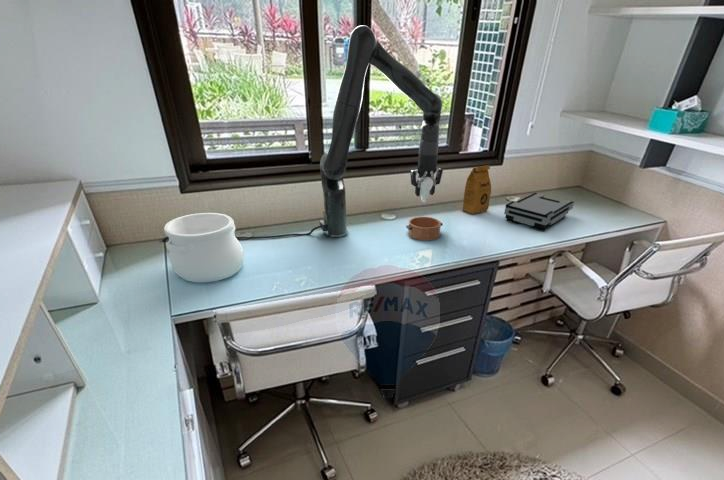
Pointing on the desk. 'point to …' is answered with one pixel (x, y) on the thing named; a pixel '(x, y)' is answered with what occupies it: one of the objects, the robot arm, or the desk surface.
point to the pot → (204, 247)
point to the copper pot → (424, 228)
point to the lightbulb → (425, 188)
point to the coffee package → (477, 190)
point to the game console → (537, 211)
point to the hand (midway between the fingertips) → (424, 195)
